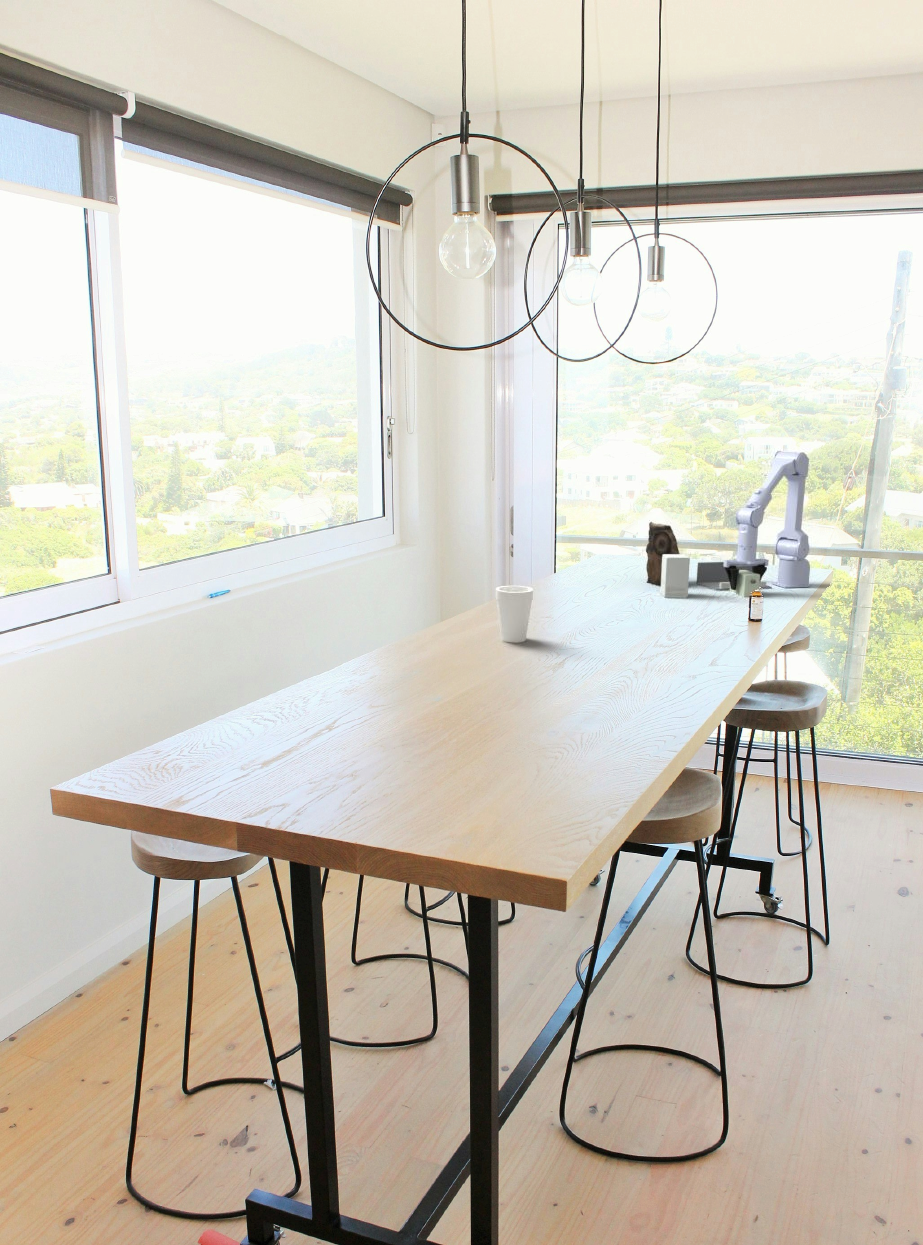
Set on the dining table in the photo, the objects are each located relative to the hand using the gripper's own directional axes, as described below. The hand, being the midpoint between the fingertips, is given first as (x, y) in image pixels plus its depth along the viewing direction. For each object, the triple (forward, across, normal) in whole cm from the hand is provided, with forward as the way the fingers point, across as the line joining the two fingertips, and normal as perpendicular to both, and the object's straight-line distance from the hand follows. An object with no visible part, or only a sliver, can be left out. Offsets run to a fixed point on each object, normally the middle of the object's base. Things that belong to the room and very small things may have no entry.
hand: (744, 589), depth 320 cm
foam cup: (+2, -89, -43) cm, 99 cm away
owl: (+2, -16, +22) cm, 27 cm away
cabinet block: (+2, 0, 0) cm, 2 cm away
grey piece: (+2, +4, +14) cm, 14 cm away
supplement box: (+2, -23, +2) cm, 23 cm away
